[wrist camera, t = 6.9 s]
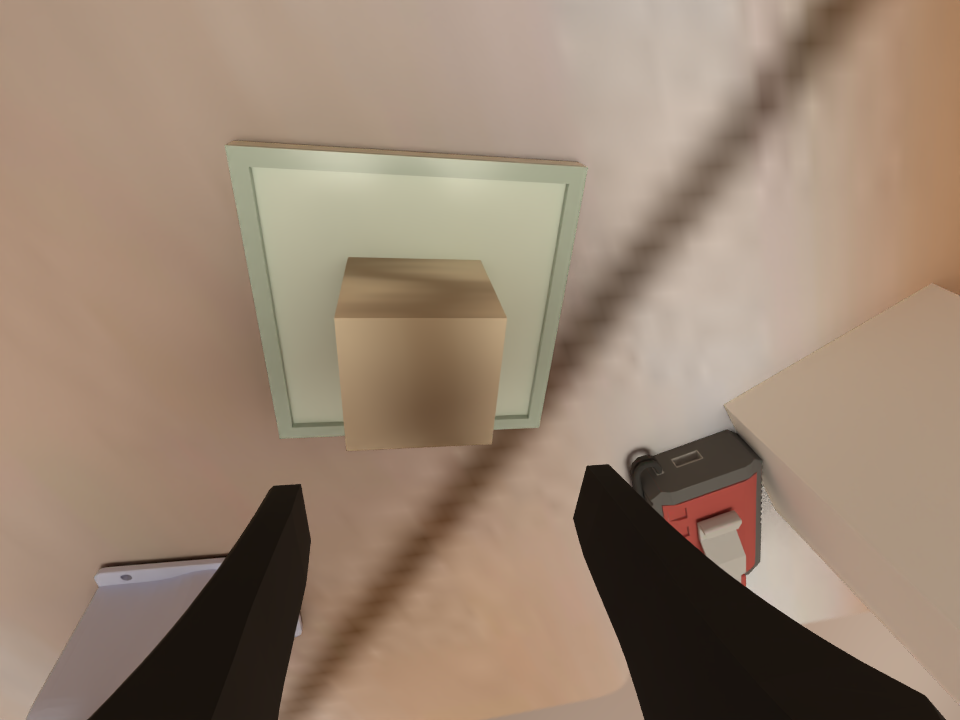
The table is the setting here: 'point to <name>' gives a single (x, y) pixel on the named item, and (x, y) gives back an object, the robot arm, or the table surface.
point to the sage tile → (398, 256)
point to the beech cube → (418, 353)
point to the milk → (876, 467)
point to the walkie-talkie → (709, 497)
